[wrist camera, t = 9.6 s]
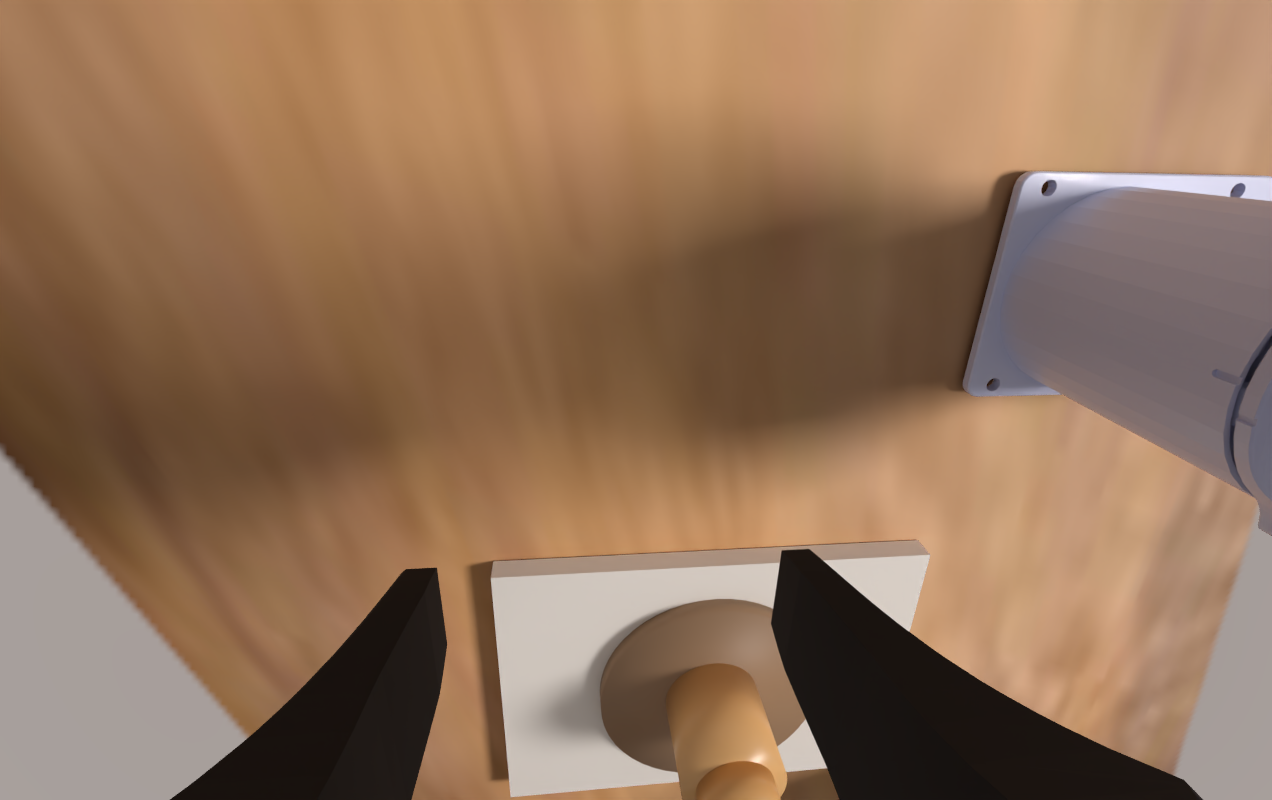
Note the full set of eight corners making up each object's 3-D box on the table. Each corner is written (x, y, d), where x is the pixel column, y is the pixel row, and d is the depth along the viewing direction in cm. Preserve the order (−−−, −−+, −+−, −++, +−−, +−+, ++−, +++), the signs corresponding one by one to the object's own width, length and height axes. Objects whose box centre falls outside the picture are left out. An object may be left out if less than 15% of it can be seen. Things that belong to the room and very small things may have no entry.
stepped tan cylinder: (739, 650, 25) (782, 777, 20) (768, 709, 27) (814, 840, 22) (651, 685, 26) (672, 819, 21) (685, 741, 27) (712, 878, 22)
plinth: (917, 539, 26) (941, 567, 25) (864, 745, 32) (881, 779, 30) (493, 561, 24) (488, 592, 23) (512, 776, 30) (509, 814, 28)
